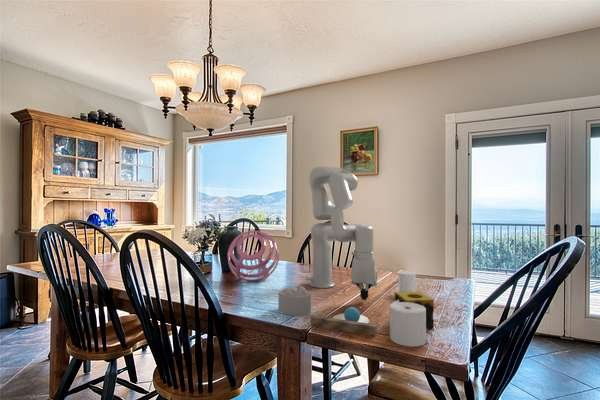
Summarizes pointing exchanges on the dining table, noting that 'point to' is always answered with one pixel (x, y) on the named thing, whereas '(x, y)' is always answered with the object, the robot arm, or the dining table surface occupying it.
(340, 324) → the stopper rail
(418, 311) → the toilet tissue
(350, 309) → the ball
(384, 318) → the dining table surface
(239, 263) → the spiral basket
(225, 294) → the dining table surface
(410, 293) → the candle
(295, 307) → the lumpy-topped squat cylinder
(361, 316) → the disc
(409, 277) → the white cup
